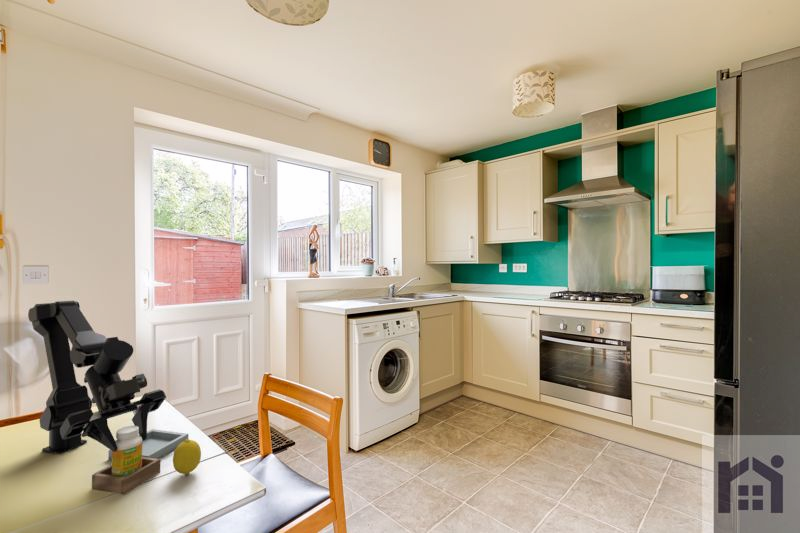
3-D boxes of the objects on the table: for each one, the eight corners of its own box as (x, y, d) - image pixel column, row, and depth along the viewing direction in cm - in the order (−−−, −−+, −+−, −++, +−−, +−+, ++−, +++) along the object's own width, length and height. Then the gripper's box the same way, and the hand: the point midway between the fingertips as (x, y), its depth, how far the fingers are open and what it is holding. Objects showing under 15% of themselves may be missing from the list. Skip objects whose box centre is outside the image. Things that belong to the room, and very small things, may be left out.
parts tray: (108, 459, 89) (108, 450, 89) (152, 436, 101) (152, 429, 101) (148, 465, 86) (148, 456, 86) (188, 441, 98) (188, 433, 98)
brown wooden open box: (91, 488, 77) (91, 474, 77) (130, 467, 85) (130, 454, 85) (124, 494, 75) (124, 480, 75) (160, 472, 83) (160, 459, 83)
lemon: (188, 483, 79) (188, 446, 79) (166, 480, 80) (167, 444, 80) (206, 469, 85) (206, 435, 85) (186, 466, 86) (186, 432, 86)
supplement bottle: (122, 482, 77) (122, 436, 77) (105, 476, 79) (106, 432, 79) (147, 469, 82) (148, 426, 82) (131, 464, 84) (132, 422, 84)
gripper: (66, 376, 74) (91, 443, 69) (162, 356, 90) (188, 409, 85) (49, 406, 78) (72, 472, 72) (144, 382, 94) (168, 435, 89)
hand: (130, 444), depth 80 cm, fingers closed on supplement bottle, 5 cm apart
